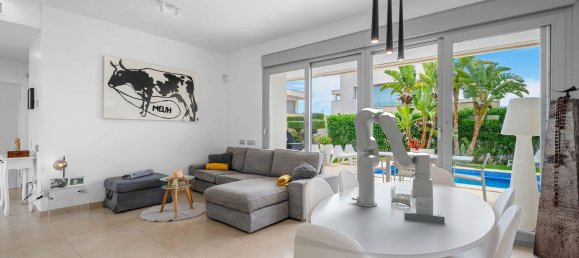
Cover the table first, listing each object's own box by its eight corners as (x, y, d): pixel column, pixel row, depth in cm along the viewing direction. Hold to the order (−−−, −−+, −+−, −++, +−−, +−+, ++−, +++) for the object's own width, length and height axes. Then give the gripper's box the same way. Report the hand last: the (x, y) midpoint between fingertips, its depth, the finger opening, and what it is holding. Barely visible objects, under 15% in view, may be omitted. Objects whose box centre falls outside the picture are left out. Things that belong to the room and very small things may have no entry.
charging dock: (404, 219, 146) (404, 212, 146) (404, 212, 159) (404, 206, 159) (444, 223, 140) (444, 216, 140) (440, 216, 152) (440, 209, 152)
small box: (431, 216, 152) (431, 196, 151) (433, 219, 146) (433, 199, 146) (415, 214, 154) (415, 195, 154) (416, 218, 149) (416, 198, 148)
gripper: (407, 176, 153) (407, 209, 154) (438, 178, 148) (438, 212, 148) (407, 174, 160) (407, 205, 161) (436, 175, 155) (436, 208, 155)
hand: (422, 209), depth 154 cm, fingers closed
